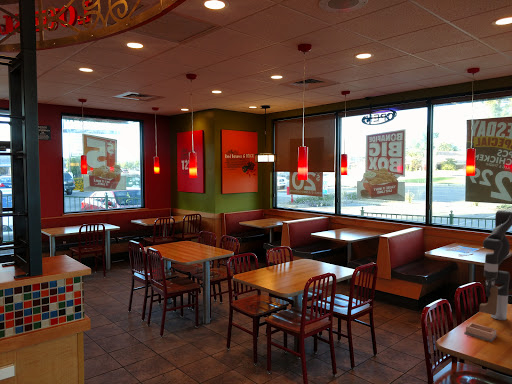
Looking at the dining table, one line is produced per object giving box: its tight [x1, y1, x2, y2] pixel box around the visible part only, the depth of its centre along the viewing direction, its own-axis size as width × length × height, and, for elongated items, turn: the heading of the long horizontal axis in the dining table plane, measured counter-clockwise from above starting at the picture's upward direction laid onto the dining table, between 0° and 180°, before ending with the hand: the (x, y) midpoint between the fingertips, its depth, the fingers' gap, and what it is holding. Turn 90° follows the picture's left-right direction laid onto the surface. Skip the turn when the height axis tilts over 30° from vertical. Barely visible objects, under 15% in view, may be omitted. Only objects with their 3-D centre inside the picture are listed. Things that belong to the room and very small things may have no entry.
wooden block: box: [478, 285, 499, 315], centre depth 247 cm, size 9×4×18 cm, turn 51°
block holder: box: [464, 322, 498, 343], centre depth 239 cm, size 12×15×4 cm
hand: (489, 295), depth 247 cm, fingers closed on wooden block, 4 cm apart
